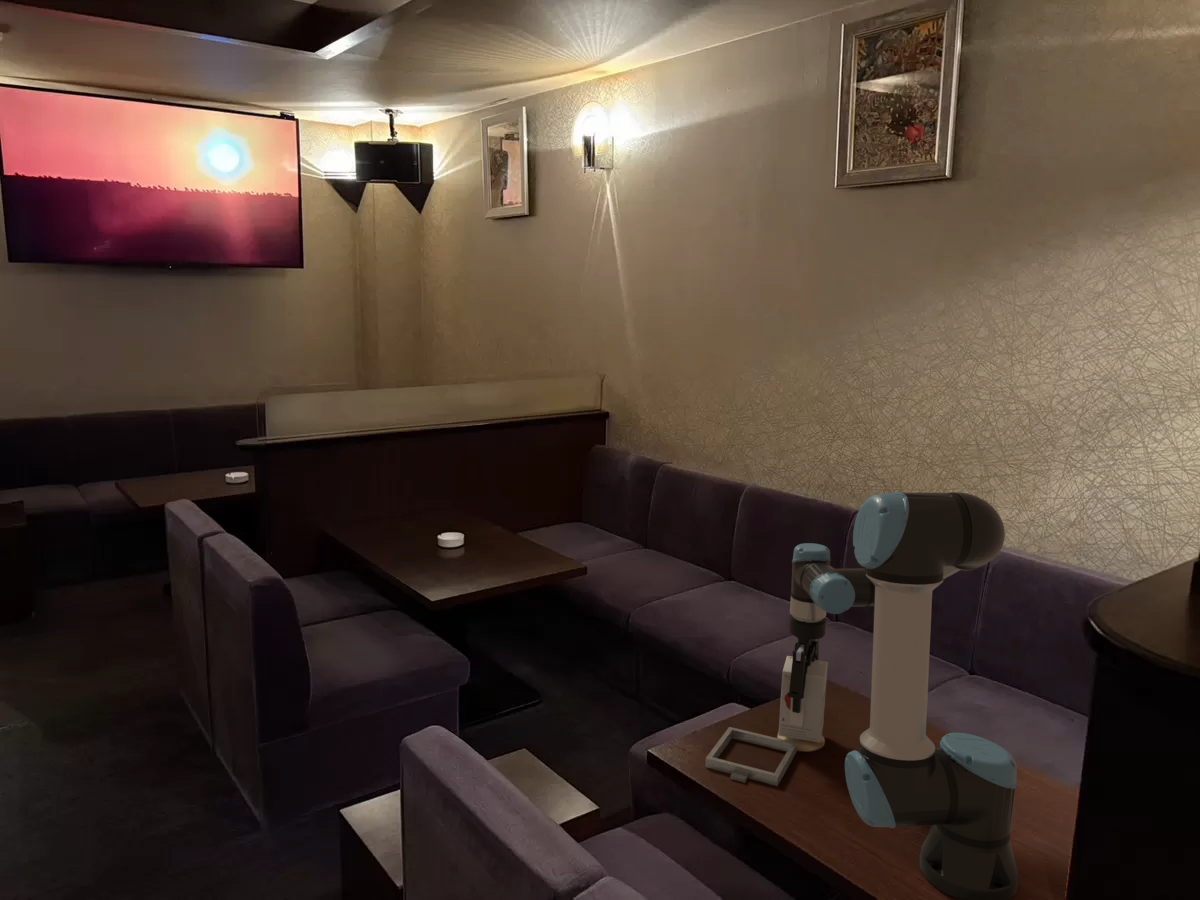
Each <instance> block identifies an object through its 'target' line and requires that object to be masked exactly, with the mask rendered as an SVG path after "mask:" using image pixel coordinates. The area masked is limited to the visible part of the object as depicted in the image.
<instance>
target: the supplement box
mask: <svg viewBox="0 0 1200 900" xmlns="http://www.w3.org/2000/svg"><path fill="white" fill-rule="evenodd" d="M792 661H793V655H792V656H790V655H786V659H785V662H784V665H783V669H782V673H781V690H780V703H779V705H780V707H779V720H778V721H779V722H778V732H779V736H784V737H790V738H796V739H801V740H807V741H813V742H819V743H820V741H821V735H822V736H823V730H824V729H823V727H824V716H825V704H826V691H827V678H828V665H829V662H828V661H825V660H820V659H819V660H815V661H814V662H813V661H811V665H810V666H809V667H808V671H807V674H806V681H805V689H804V697H805V703H804V720H803V727H800V726H795V725H791V724H790V708H791V697H789V696H787V693H789V688H790V679H791V670H792ZM805 662H807V661H805Z"/></svg>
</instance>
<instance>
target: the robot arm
mask: <svg viewBox="0 0 1200 900" xmlns="http://www.w3.org/2000/svg"><path fill="white" fill-rule="evenodd" d="M853 526H854V528H853V533H852V547H854V550H853V551H854V552H853V554H854V556H855V559H856V561H857V563H858V564H859V565H860V566H861V567H863V568H834V567H833V566H831V565H830V564H831V563H830V562H831V560H832V559H831V552H830V551H831V550H830V549H829V548H828V547H827V545H826V546H825V545H823V544H819V543H813V542H812V543H811V542H810V543H809V542H807V543H800V544H797V545H796V546H795V547H794V549H793V553H792V554H793V556H792V560H791V563H792V566H791V567H792V568H791V571H792V572H791V588H790V589H791V590H790V604H789V605H790V606H789V614H790V616H789V625H788V626H789V627H788V631H789V633H790V635H792V636H793V637H795V638H797V642H795V644H794V649H793V651H792V657H793V661H792V670H791V679H790V688H789V693H787V696H789V697H791V708H790V724H791V725H795V726H800V727H803V720H804V703H805V697H804V689H805V681H806V674H807V671H808V667H809V666H810V665H811V661H813V662H814V661H815V660H819V661H820V653H819V652H820V649H819V648H820V647H819V645H820V643H819V641H820V639H823V638H824V637H825V635H826V631H827V630H826V629H827V627H826V626H827V620H826V616H827V613H829V614H833V615H839V614H842V613H844V612H846V611H848V610H849V609H851V607H853V608H854V607H857V608H859V607H874V609H873V610H874V611H873V636H872V637H873V638H872V660H871V661H872V664H871V687H870V688H871V691H870V693H871V694H870V713H869V716H870V717H869V728H867V729H866V730H865V731H862V733H861V734H860V736H859V749H858V750H852V751H849V752H848V753H847V754H846V757H845V758H844V759H845V760H844V773H845V781H846V786H847V790H848V793H849V797H850V800H851V802H852V804H853V806H854V809H855V811H856V813H857V815H858V817H859V818H860V819H861V820H862V821H863V822H864V823H865V824H866V825H868V826H870V827H874V828H890V829H896V828H899V827H903V828H904V827H921V826H922V827H923V826H931V828H930V830H929V832H928V834H927V836H926V838H925V840H924V841H923V844H922V845H921V848H920V852H919V853H920V854H919V868H920V871H921V873H922V875H923V876H924V878H925V879H926V880H927V881H928V882H929V883H930V884H932V886H933V887H935V888H936V889H938V890H939V891H941V892H942V893H944V894H946V895H948V896H951V897H953V898H956V899H959V900H1010V899H1012V898H1013V897H1014V896H1015V895H1016V894H1017V890H1018V884H1019V872H1018V867H1017V862H1016V859H1015V855H1014V850H1013V847H1012V844H1011V834H1012V825H1013V815H1014V806H1015V798H1016V797H1015V796H1016V789H1017V787H1018V781H1017V779H1018V777H1017V776H1018V771H1017V770H1018V767H1017V762H1016V760H1015V759H1014V757H1013V756H1012V754H1011V753H1010V752H1009V751H1008V750H1006V749H1005V748H1004V747H1002V746H1001V745H999V744H998V743H995V742H994V741H991V740H989V739H987V738H984V737H981V736H979V735H974V734H970V733H964V732H949V733H947V734H945V735H943V736H942V738H941V740H940V741H939V748H938V747H937V748H936V746H935V744H934V742H933V741H932V740H931V739H930V738H929V737H928V735H927V713H928V712H927V711H928V693H929V675H930V673H929V672H930V671H929V670H930V669H929V667H930V651H931V650H930V646H931V627H932V625H931V624H932V605H933V604H932V603H933V602H932V600H933V591H934V590H935V589H936V588H938V587H939V586H940V585H941V584H943V582H944V580H945V579H946V578H948V577H951V576H952V575H954V574H956V573H958V572H959V571H966V572H967V571H974V570H977V569H979V568H981V567H983V566H985V565H987V564H988V563H990V562H991V561H993V560H994V559H995V558H996V557H997V556H998V555H999V554H1000V552H1001V550H1002V549H1003V546H1004V544H1005V538H1006V537H1005V535H1006V534H1005V533H1006V530H1005V525H1004V523H1003V520H1002V517H1001V515H1000V514H999V513H998V510H996V509H995V508H994V507H993V506H992V505H991V504H990V503H989V502H988V501H986V500H985V499H983V498H981V497H979V496H977V495H974V494H971V493H966V492H958V491H955V492H953V491H952V492H903V491H902V492H900V491H894V492H888V493H887V492H886V493H878V494H874V495H870V497H868V498H867V499H866V500H865V501H864V502H863V503H862V505H861V507H860V508H859V510H858V511H857V515H856V517H855V521H854V525H853ZM805 661H807V662H805Z"/></svg>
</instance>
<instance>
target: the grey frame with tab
mask: <svg viewBox="0 0 1200 900" xmlns="http://www.w3.org/2000/svg"><path fill="white" fill-rule="evenodd" d="M732 739H733V740H737V741H741V742H745V743H749V744H754V745H757V746H758V745H759V746H761V747H766V748H769V749H774V750H778V751H782V752H785V755H784V756H783V758H782V759H781V761H780V763H779V764H778V766H777V768H776V770H775V771H774V772H771V771H767V770H764V769H760V768H756V767H754V766H753V767H752V766H748V765H744V764H739V763H736V762H733V761H729V760H725V759H721V758H719V757H720V755H721V754H722V753H723V751H724V750H725V749H726V747H727V746H728V744H729V743H730V742H731V740H732ZM797 752H798V751H797V743H795V742H791V741H787V740H782V739H778V738H777V737H774V736H770V735H764V734H762V733H756V732H752V731H748V730H744V729H740V728H736V727H731V726H728V727H727V729H726V731H725V732H724V733H723V734H722V736H721V737H720V738H719V740H718V741H717V742H716V744H715V745H714V747H713V748H712V749H711V751H710V752H709V753H708V754H707V755H706V757H705V767H704V768H707V769H710V770H715V771H718V772H722V773H726V774H730V778H729V779H730V780H731V781H736V782H739V783H743V784H746V782H747V781H748V779H749V780H753V781H757V782H761V783H765V784H768V785H772V786H776V787H778V786H779V784H780V782H781V781H782V779H783V777H784V775H785V773H786V772H787V770H788V768H789V766H790V764H791V763H792V762H793V759H794V758H795V755H796V754H797Z"/></svg>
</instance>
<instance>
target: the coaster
mask: <svg viewBox="0 0 1200 900" xmlns="http://www.w3.org/2000/svg"><path fill="white" fill-rule="evenodd" d="M776 738H778V739H782V740H787V741H791V742H795V743H797V752H807V753H808V752H816V751H819V750H821V749H822V748H823V747H824V746H825V743H826V742H825V741H826V740H825V737H824V736H823V734H822V735H821V741H820V743H819V742H813V741H807V740H801V739H796V738H790V737H784V736H779V731H778V732H777V736H776Z"/></svg>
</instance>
